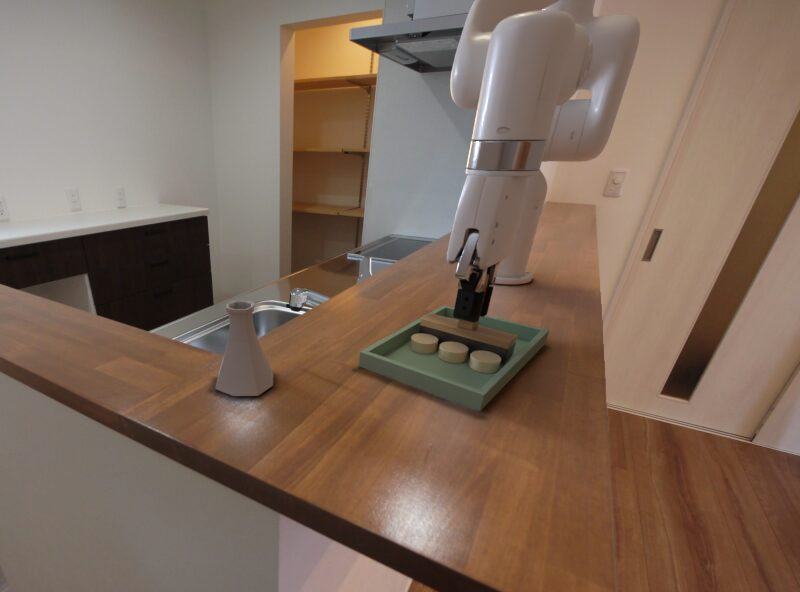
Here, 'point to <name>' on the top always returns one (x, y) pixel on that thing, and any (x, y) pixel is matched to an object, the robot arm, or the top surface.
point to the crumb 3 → (484, 361)
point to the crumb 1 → (423, 343)
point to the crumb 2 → (453, 352)
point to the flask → (243, 355)
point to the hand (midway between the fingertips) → (469, 315)
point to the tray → (448, 377)
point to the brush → (470, 333)
